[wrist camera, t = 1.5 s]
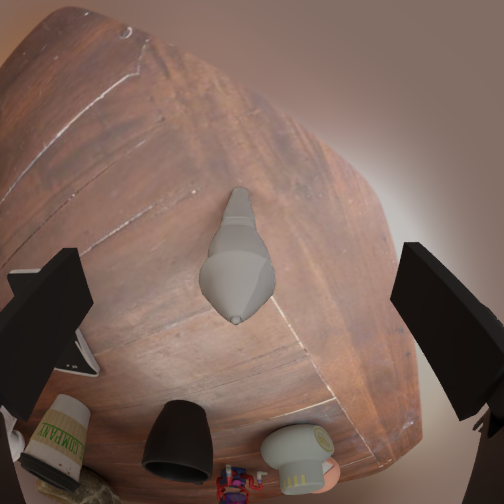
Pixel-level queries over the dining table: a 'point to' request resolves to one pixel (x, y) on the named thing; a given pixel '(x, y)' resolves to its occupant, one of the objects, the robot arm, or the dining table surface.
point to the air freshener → (298, 457)
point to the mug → (180, 444)
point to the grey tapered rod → (237, 263)
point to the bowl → (82, 491)
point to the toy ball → (329, 474)
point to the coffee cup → (59, 444)
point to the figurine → (236, 485)
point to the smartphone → (77, 351)
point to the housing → (13, 435)
